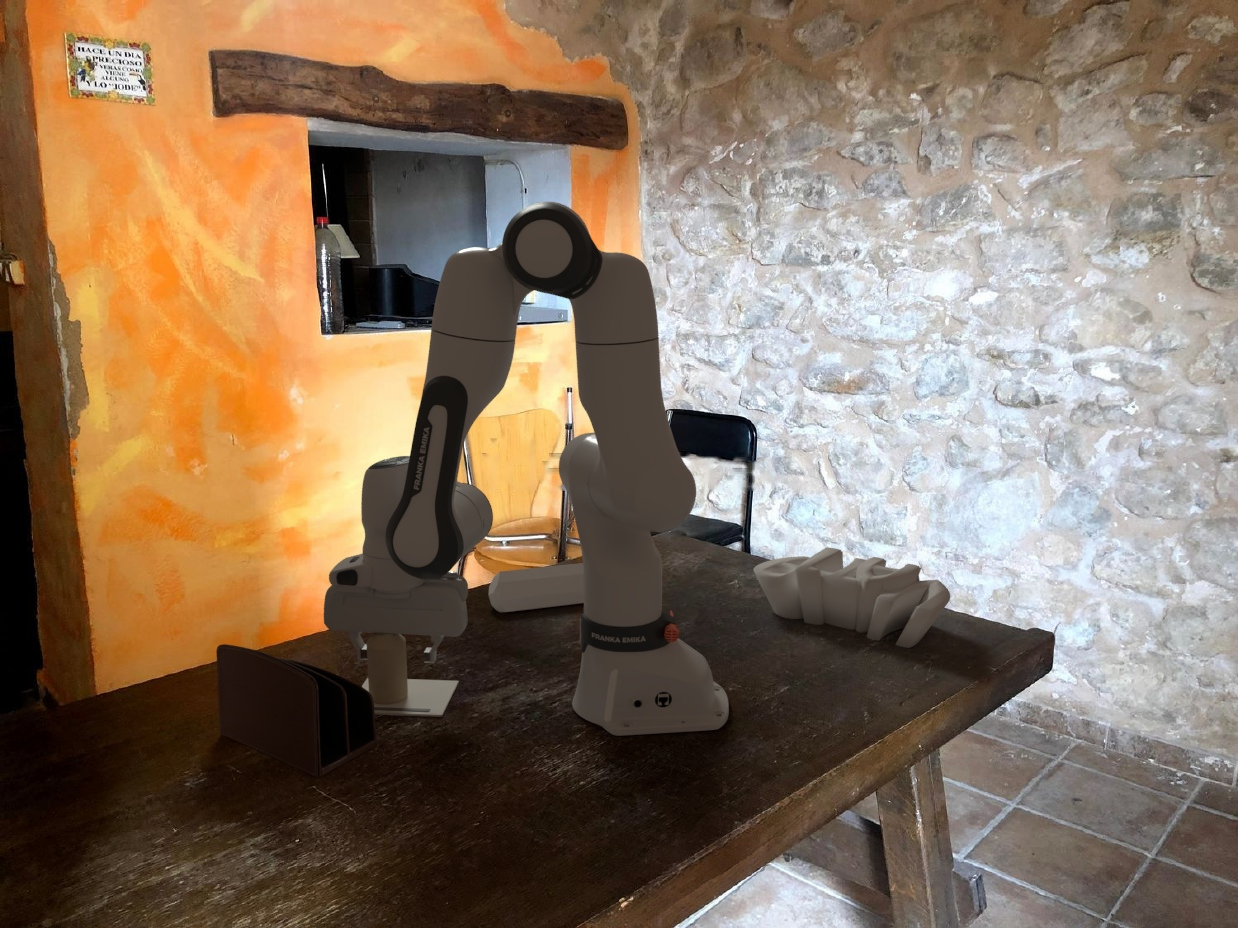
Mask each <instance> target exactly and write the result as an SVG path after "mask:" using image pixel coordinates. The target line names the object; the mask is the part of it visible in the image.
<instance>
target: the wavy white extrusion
mask: <svg viewBox="0 0 1238 928" xmlns="http://www.w3.org/2000/svg"><path fill="white" fill-rule="evenodd" d="M843 553H844V551H842V549H840V548H834V547H824V548H823V549H821V550H820V551H818V552H817V553H815V554H814V555H812V556H810V557H809V556H804V555H803V556H788V557H781V558H776V559H770V560H767V561H764V562H760V563H759V564H757V565H755V567H754V568H753V574H754V575H755V577H756V579H757V581H758V583H759V585H760V587H761V589H762V590H763V593H764V594H765V597H766V598H767V600H768V601H767V602H769V605H770V607H771V609H772V611H773V613H774V614H775V615H776V616H779V617H781V618H785V619H791V620H794V619H795V620H799V619H800V620H802V619H803V623H804V624H810V625H817V626H822V625H824V624H827V625H831V626H834V627H839V628H842V629H846V630H851V631H854V630H855V631H856V632H857V633H858V634H859V633H866V638H867V639H871V640H873V641H874V640H875V641H880V640H881V639H883V637H885V636H886V635H889V634H890V633H892V632H895V631H897V630H901V629H903V630H902V632H901V634H900V635H899V637H898V638H897V641H896V643H895V646H898V647H902V648H907V649H910V648H912V647H914V646H916V645H917V644H918V643H920V641H922V639H923V637H924V636H925V635H926V634H927V632H928V631H929V629H931V627H932V625H933V624H934V623H935V621H936V620H937V618H938V617H939V616H940V615H941V613H942V612H943V610H944V609H945V608H946V606H947V605H948V603H949V602H950V600H951V593H950V591H949V589H948V588H947V586H946V585H945V584H944V583H943V582H941V581H940V580H939V579H926V580H925V579H924V580H920V574H921V570H922V567H920V565H917V564H913V563H907V564H905V565H904V566H903V567H900V568H892V567H887V565H886V564H887V560H885V558H882V557H877V556H872V557H870V558H868V559H864V558H860V557H855V558H854V559H853V560H852V561H851V563H849V564H847V565H846V566H844V554H843Z"/></svg>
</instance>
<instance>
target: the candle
mask: <svg viewBox="0 0 1238 928" xmlns="http://www.w3.org/2000/svg"><path fill="white" fill-rule="evenodd" d="M366 644H367V660H366V661H367V678H368V683H369V693H370V694H371V695H372V697H373V700H374V702H375V703H378V704H392V703H397V702H399V701H402V700H403V699H405V698H406V697H407V694H408V684H407V679H408V665H407V664H408V663H407V641H406V638H405V637H404V636H403V634H391V633H373V634H372V635H371V637H369V639H368V640H367V641H366Z"/></svg>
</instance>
